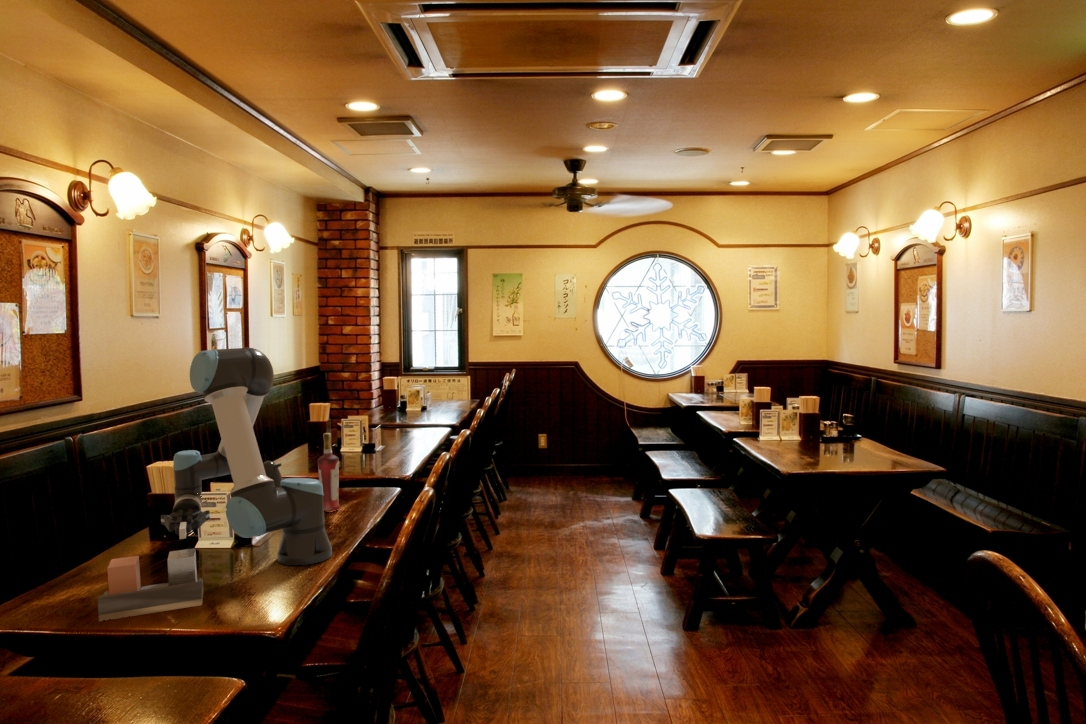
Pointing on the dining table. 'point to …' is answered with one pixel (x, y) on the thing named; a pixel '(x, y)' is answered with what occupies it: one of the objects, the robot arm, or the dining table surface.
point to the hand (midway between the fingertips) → (182, 533)
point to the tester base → (150, 600)
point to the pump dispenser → (273, 472)
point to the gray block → (182, 567)
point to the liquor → (329, 475)
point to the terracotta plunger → (124, 575)
